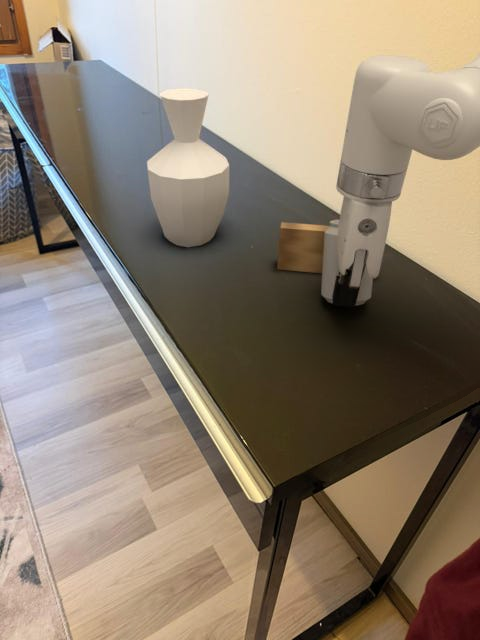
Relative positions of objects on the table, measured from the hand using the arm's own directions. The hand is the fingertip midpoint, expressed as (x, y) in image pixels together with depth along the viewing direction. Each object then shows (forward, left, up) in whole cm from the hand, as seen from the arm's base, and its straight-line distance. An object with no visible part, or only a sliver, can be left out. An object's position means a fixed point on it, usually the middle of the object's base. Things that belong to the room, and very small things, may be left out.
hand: (343, 302), depth 65 cm
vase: (+27, -22, -4) cm, 35 cm away
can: (-1, -4, -3) cm, 5 cm away
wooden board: (+2, -14, -4) cm, 15 cm away
